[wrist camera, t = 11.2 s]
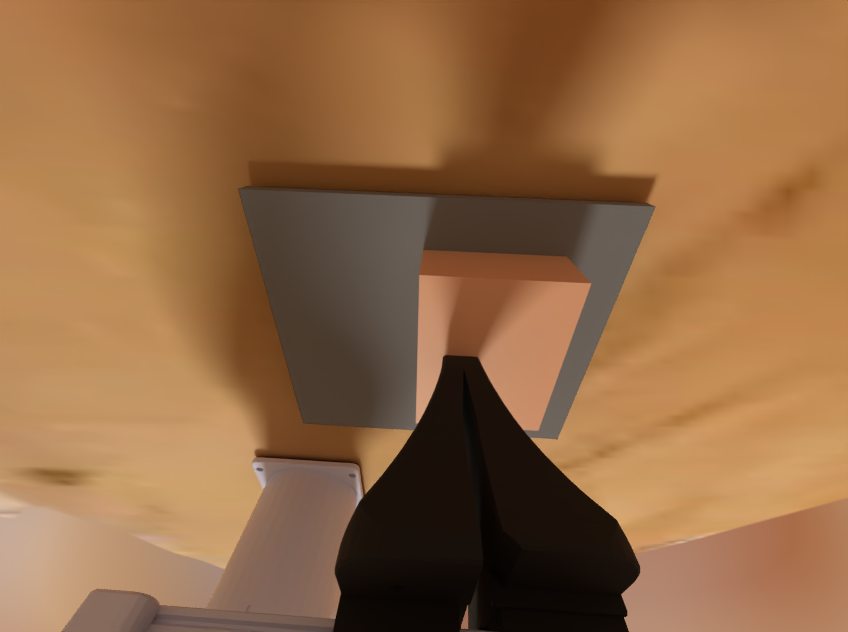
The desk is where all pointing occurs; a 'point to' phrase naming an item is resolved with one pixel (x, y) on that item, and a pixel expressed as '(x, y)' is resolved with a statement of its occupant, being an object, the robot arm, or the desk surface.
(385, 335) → the mat
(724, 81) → the desk surface
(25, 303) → the desk surface
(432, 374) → the slab
